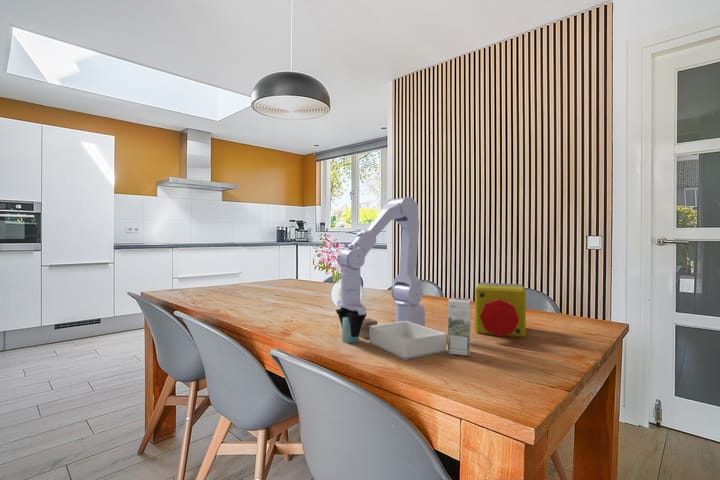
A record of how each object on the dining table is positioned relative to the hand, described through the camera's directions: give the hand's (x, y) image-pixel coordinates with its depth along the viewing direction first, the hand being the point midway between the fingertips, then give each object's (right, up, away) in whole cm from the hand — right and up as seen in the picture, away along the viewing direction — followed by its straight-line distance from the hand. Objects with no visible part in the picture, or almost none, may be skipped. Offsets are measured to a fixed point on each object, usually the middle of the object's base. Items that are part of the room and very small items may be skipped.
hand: (350, 334), depth 110 cm
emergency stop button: (+48, -2, +9) cm, 49 cm away
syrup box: (+30, -2, -11) cm, 32 cm away
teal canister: (0, -2, 0) cm, 2 cm away
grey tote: (+16, -2, -6) cm, 17 cm away
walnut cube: (+5, -2, +6) cm, 8 cm away
